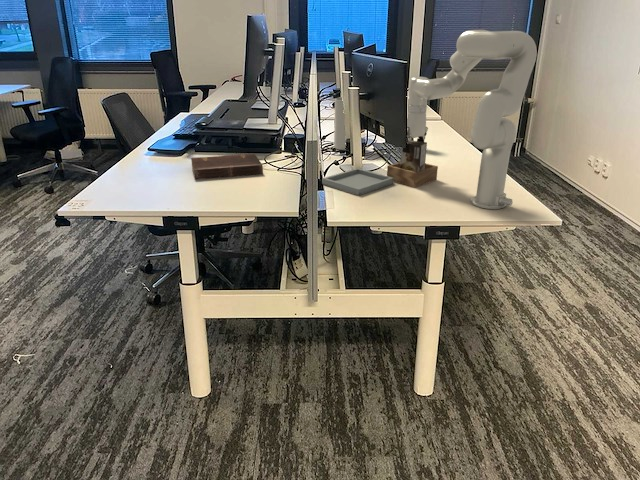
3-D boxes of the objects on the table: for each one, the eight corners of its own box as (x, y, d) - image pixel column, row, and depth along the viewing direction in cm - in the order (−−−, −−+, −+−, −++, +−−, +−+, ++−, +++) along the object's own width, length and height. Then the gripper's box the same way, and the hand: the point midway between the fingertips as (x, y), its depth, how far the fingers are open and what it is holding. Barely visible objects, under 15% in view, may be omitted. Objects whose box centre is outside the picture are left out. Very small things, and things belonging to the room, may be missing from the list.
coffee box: (424, 179, 222) (427, 142, 216) (418, 183, 217) (422, 145, 211) (404, 176, 227) (407, 139, 220) (398, 179, 222) (401, 142, 215)
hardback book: (195, 180, 221) (194, 169, 219) (192, 168, 237) (191, 158, 235) (263, 175, 228) (262, 164, 226) (255, 164, 245) (254, 153, 243)
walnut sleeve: (436, 179, 222) (437, 166, 220) (415, 187, 212) (416, 173, 210) (407, 172, 232) (408, 159, 229) (386, 179, 222) (387, 165, 220)
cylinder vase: (356, 151, 266) (358, 101, 256) (332, 150, 268) (333, 100, 258) (359, 145, 277) (360, 97, 267) (335, 144, 279) (336, 96, 269)
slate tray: (393, 183, 217) (393, 177, 216) (358, 195, 203) (358, 189, 202) (357, 173, 230) (357, 168, 229) (322, 184, 216) (322, 178, 215)
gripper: (421, 105, 218) (417, 145, 225) (396, 110, 207) (393, 152, 214) (436, 107, 213) (432, 148, 221) (411, 113, 202) (407, 156, 209)
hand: (413, 150), depth 217 cm, fingers open, 9 cm apart
